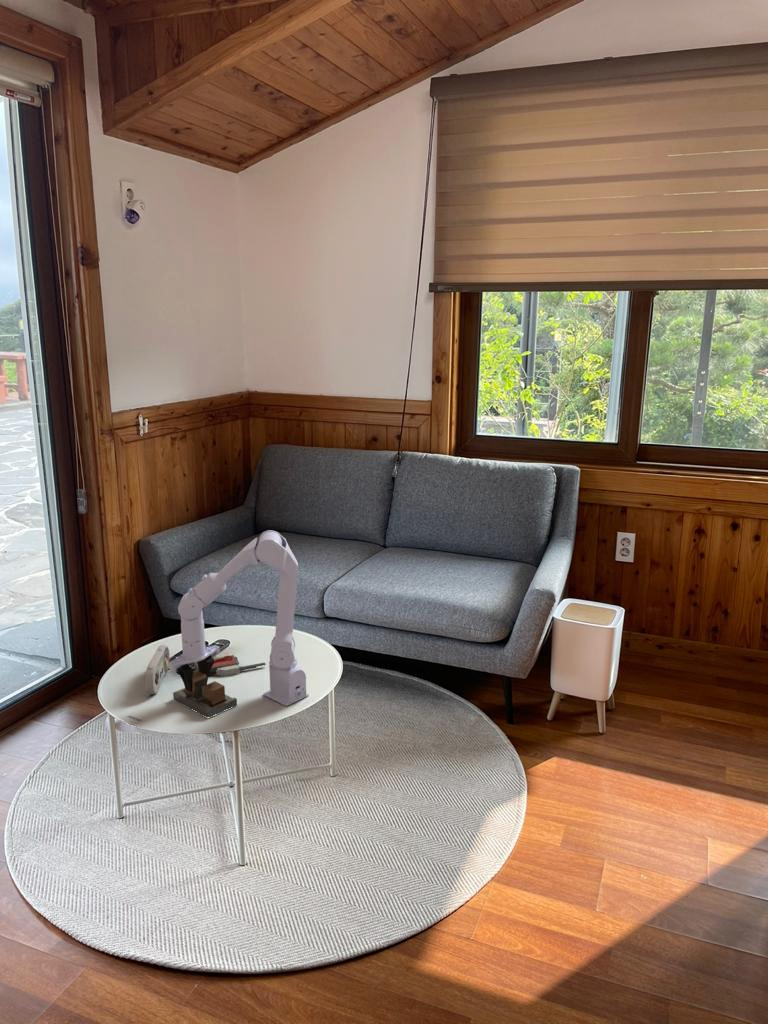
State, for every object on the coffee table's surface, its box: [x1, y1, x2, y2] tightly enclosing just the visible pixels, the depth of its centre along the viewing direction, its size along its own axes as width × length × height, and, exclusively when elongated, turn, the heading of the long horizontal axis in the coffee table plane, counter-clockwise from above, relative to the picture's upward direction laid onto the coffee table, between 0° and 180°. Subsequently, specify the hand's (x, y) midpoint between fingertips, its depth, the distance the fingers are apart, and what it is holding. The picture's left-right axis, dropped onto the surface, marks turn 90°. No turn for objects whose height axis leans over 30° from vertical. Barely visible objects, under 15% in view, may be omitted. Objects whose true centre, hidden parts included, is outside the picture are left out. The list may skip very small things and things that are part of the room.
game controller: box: [144, 644, 171, 695], centre depth 210 cm, size 20×2×8 cm, turn 3°
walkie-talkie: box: [193, 652, 267, 677], centre depth 219 cm, size 9×4×20 cm
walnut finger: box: [185, 670, 208, 699], centre depth 201 cm, size 5×4×6 cm
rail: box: [172, 680, 238, 718], centre depth 199 cm, size 15×9×6 cm, turn 48°
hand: (196, 687), depth 201 cm, fingers closed on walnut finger, 4 cm apart
